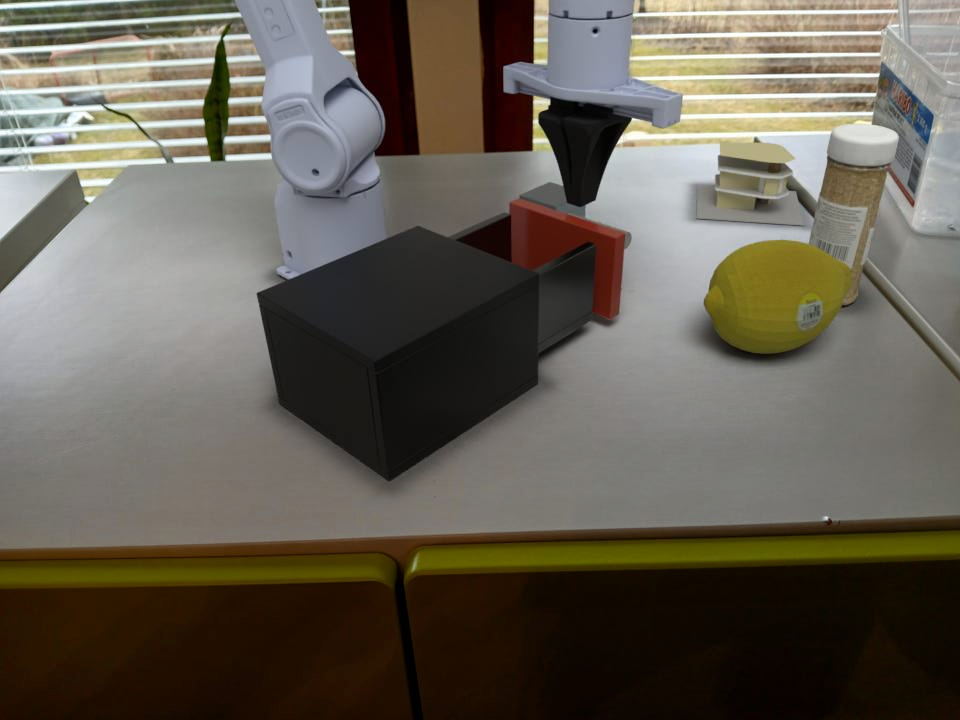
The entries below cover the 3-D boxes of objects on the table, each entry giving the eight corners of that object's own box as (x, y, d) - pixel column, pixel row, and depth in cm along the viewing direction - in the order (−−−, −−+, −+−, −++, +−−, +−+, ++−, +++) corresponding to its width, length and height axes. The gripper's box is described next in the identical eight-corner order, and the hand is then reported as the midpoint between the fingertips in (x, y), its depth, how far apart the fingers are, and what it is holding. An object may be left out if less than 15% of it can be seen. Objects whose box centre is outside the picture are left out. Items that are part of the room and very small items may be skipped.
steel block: (519, 238, 75) (519, 194, 73) (548, 224, 78) (549, 181, 75) (554, 251, 73) (556, 206, 70) (584, 236, 75) (586, 192, 73)
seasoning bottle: (868, 297, 64) (914, 132, 57) (832, 314, 62) (875, 144, 54) (820, 276, 67) (857, 117, 60) (784, 291, 65) (818, 129, 58)
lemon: (710, 377, 55) (727, 274, 51) (680, 321, 62) (692, 225, 57) (863, 368, 56) (892, 265, 51) (816, 313, 62) (839, 218, 58)
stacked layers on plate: (696, 218, 78) (703, 164, 75) (697, 185, 85) (704, 135, 82) (804, 226, 76) (815, 170, 73) (795, 191, 83) (806, 139, 80)
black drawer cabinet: (425, 327, 62) (417, 224, 57) (538, 383, 55) (540, 273, 50) (278, 403, 54) (255, 292, 49) (389, 481, 47) (374, 361, 42)
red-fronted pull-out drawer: (550, 257, 70) (552, 183, 66) (650, 294, 63) (658, 215, 60) (408, 330, 60) (401, 248, 56) (510, 383, 54) (509, 295, 50)
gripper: (716, 15, 52) (691, 210, 59) (546, -6, 60) (543, 166, 68) (655, 32, 48) (636, 240, 55) (482, 7, 56) (486, 189, 64)
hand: (581, 201), depth 61 cm, fingers closed
